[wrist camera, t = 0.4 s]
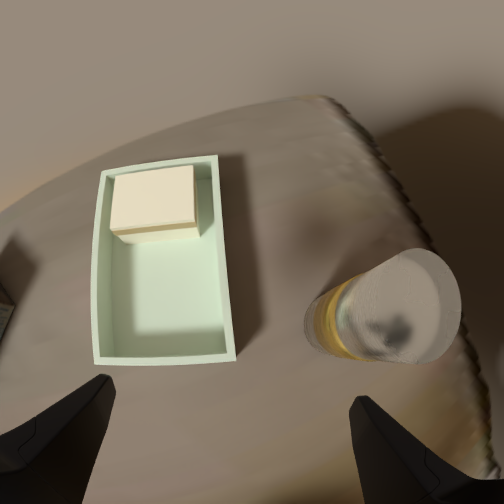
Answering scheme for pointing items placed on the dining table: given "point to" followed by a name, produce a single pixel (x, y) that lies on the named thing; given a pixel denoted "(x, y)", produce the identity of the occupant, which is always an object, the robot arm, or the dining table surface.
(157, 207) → the butter box
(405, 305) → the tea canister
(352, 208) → the dining table surface
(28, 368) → the dining table surface
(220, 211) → the tote
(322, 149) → the dining table surface
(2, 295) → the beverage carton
